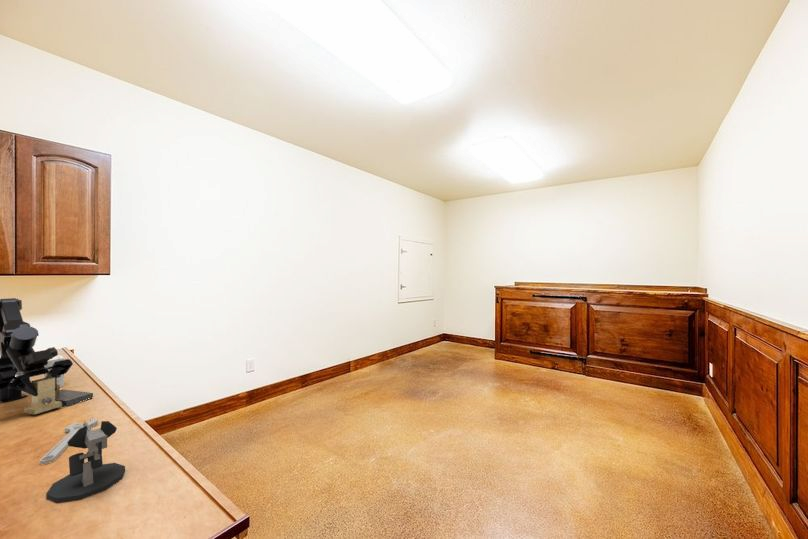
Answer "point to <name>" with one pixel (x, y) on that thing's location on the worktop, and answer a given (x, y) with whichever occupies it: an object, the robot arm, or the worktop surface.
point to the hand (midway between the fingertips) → (46, 392)
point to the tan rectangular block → (43, 396)
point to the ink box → (50, 363)
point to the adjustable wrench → (65, 441)
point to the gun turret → (87, 466)
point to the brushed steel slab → (70, 396)
